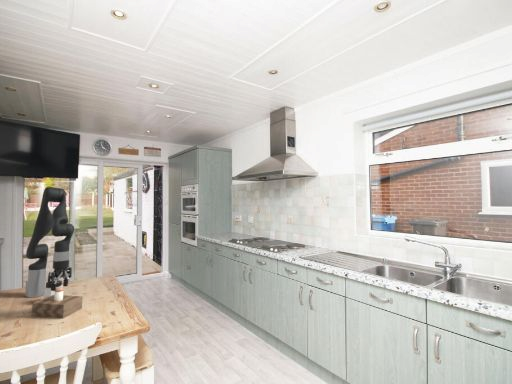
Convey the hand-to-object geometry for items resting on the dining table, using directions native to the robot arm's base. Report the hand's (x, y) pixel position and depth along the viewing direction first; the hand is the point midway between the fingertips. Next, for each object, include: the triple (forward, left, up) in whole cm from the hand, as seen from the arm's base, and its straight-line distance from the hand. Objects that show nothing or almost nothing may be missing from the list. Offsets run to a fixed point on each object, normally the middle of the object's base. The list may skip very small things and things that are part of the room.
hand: (59, 288), depth 153 cm
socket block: (0, 0, -13) cm, 13 cm away
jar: (-16, +15, -13) cm, 26 cm away
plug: (0, 0, -13) cm, 13 cm away
